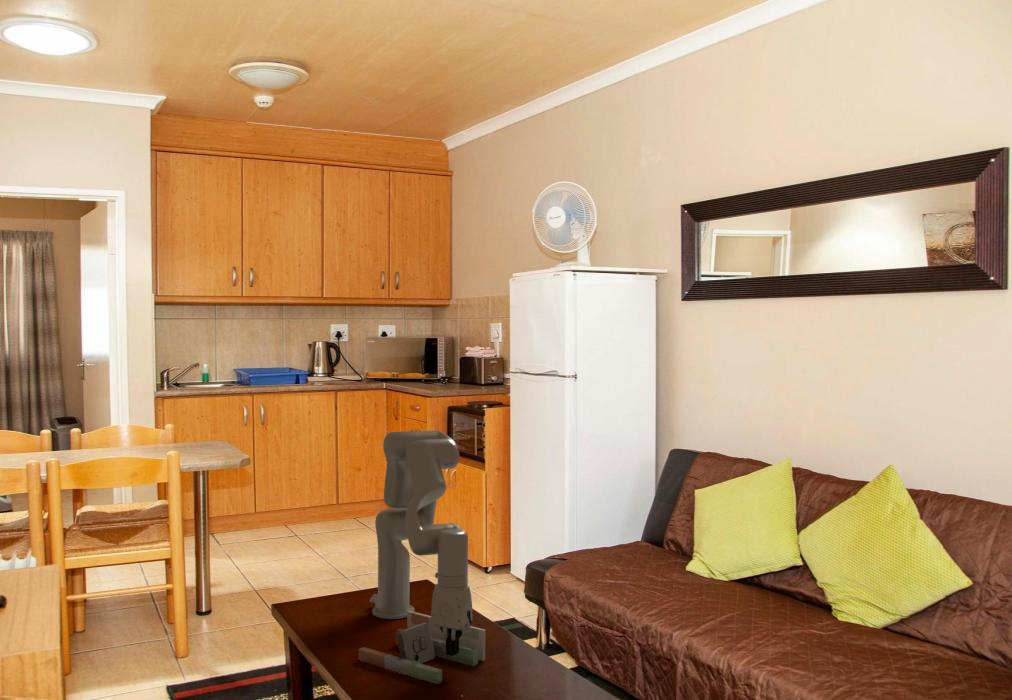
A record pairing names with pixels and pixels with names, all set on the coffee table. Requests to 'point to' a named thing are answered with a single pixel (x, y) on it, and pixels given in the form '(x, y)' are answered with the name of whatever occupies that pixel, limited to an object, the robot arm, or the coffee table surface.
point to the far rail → (464, 656)
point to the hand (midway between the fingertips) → (452, 653)
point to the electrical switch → (416, 644)
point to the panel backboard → (471, 639)
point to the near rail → (400, 665)
